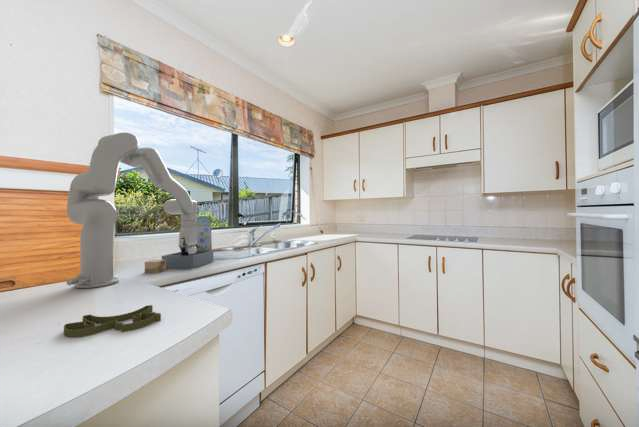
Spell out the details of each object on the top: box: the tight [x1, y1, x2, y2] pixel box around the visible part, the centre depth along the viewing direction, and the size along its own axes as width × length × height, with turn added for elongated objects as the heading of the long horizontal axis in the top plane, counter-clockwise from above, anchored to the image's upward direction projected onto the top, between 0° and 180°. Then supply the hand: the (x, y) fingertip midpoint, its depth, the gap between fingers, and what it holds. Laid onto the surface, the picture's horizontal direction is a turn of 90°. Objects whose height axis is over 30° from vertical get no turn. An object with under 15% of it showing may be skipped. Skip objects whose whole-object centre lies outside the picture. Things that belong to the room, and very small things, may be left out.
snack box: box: [196, 214, 213, 251], centre depth 162 cm, size 22×9×26 cm, turn 25°
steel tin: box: [185, 246, 196, 256], centre depth 137 cm, size 7×7×7 cm
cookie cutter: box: [63, 304, 162, 339], centre depth 62 cm, size 18×12×2 cm, turn 121°
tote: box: [161, 250, 214, 269], centre depth 138 cm, size 20×16×6 cm
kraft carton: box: [144, 259, 167, 274], centre depth 121 cm, size 6×6×5 cm
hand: (189, 258), depth 137 cm, fingers closed on steel tin, 6 cm apart
